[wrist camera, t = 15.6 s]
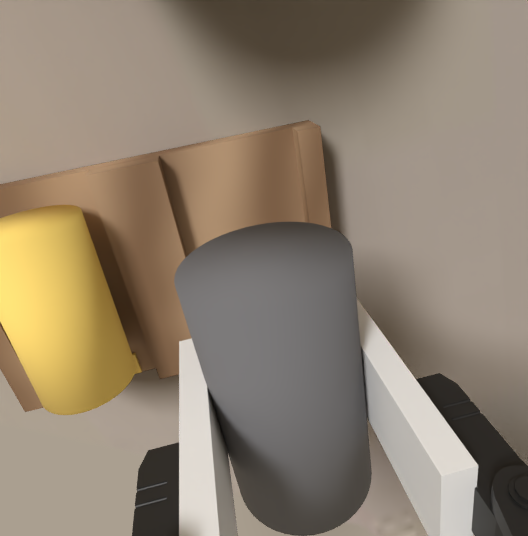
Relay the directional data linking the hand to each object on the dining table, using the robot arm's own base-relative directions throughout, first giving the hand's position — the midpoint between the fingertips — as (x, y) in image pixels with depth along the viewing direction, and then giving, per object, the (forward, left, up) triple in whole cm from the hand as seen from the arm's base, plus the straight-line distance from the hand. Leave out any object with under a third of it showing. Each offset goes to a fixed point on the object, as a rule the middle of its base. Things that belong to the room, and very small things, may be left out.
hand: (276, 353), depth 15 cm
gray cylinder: (0, 0, +2) cm, 2 cm away
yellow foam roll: (+8, 0, -6) cm, 11 cm away
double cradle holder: (+4, 0, -9) cm, 10 cm away
